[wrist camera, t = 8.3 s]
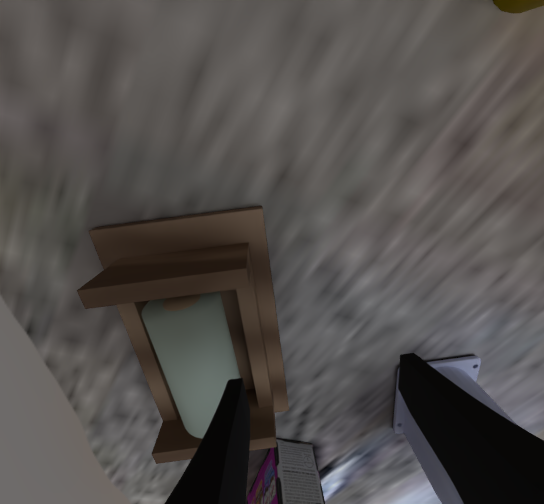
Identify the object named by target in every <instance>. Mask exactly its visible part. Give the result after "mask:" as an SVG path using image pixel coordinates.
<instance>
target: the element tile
mask: <svg viewBox="0 0 544 504" xmlns="http://www.w3.org/2000/svg"><path fill="white" fill-rule="evenodd" d="M493 2H494V4H495V5H496V6H497V7H498V8H499V9H500V10H501V11H504V12H509V13H522V12H525V11H528V10H531V9H534V8H537V7H540V6H543V5H544V0H493Z"/></svg>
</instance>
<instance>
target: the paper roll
mask: <svg viewBox="0 0 544 504" xmlns="http://www.w3.org/2000/svg"><path fill="white" fill-rule="evenodd" d="M142 318H143V321H144V323H145V326H146V328H147V331H148V334H149V336H150V339H151V341H152V344H153V346H154V349H155V352H156V354H157V357H158V359H159V362H160V365H161V367H162V370H163V372H164V375H165V377H166V380H167V383H168V385H169V388H170V390H171V393H172V396H173V398H174V401H175V403H176V406H177V408H178V411H179V414H180V416H181V419H182V421H183V424H184V426H185V429H186V430H187V431H188V433H189V434H191V435H192V436H194V437H197V438H203V437H204V435H205V433H206V431H207V429H208V427H209V425H210V423H211V420H212V418H213V416H214V414H215V412H216V409H217V407H218V405H219V402H220V400H221V397H222V395H223V392H224V390H225V387H226V384H227V382H228V381H229V380H230V379H237V378H240V374H239V369H238V365H237V361H236V357H235V353H234V349H233V345H232V340H231V336H230V332H229V328H228V324H227V320H226V316H225V311H224V307H223V303H222V299H221V295H220V291H217V292H210V293H202V294H195V295H187V296H180V297H172V298H164V299H157V300H150V301H149V302H148V303H147V304H146V305H145V306H144V308H143V310H142Z"/></svg>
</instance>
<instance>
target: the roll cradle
mask: <svg viewBox="0 0 544 504" xmlns="http://www.w3.org/2000/svg"><path fill="white" fill-rule="evenodd" d="M89 233H90V236H91V238H92V241H93V244H94V246H95V249H96V251H97V254H98V256H99V259H100V261H101V264H102V266H103V269H104V271H102V272H101V273H100V274H98V275H97V276H96V277H94V278H93V279H92V280H90V281H89V282H88V283H86V284H85V285H84V286H82V287H81V288H80V289H78V290H77V292H78V294H79V296H80V298H81V301H82V303H83V305H84V307H85V309H89V308H96V307H104V306H111V305H117V308H118V310H119V313H120V315H121V318H122V320H123V322H124V325H125V327H126V330H127V332H128V335H129V337H130V340H131V342H132V345H133V347H134V350H135V352H136V355H137V357H138V360H139V362H140V365H141V367H142V370H143V372H144V375H145V377H146V380H147V382H148V385H149V387H150V390H151V392H152V395H153V397H154V400H155V402H156V405H157V407H158V410H159V412H160V415H161V417H162V419H163V423H162V426H161V429H160V432H159V435H158V438H157V440H156V443H155V446H154V449H153V452H152V456H153V458H154V460H155V462H156V464H158V463H165V462H173V461H180V460H187V459H192V458H193V456H194V454H195V452H196V450H197V449H198V447H199V445H200V443H201V441H202V439H203V438H197V437H194V436H192V435H191V434H189V433H188V431H187V430H186V429H185V426H184V424H183V421H182V419H181V416H180V414H179V411H178V408H177V406H176V403H175V401H174V398H173V396H172V393H171V390H170V388H169V385H168V383H167V380H166V377H165V375H164V372H163V370H162V367H161V365H160V362H159V359H158V357H157V354H156V352H155V349H154V346H153V344H152V341H151V339H150V336H149V334H148V331H147V328H146V326H145V323H144V321H143V318H142V310H143V308H144V306H145V305H146V304H147V303H148V302H149V301H150V300H157V299H164V298H172V297H180V296H187V295H195V294H202V293H210V292H217V291H220V295H221V299H222V303H223V307H224V311H225V316H226V320H227V324H228V328H229V332H230V336H231V340H232V345H233V349H234V353H235V357H236V361H237V365H238V369H239V374H240V378H243V381H244V386H245V390H246V394H247V399H248V403H249V407H250V448H249V451H252V450H259V449H266V448H273V447H277V443H276V428H275V414H274V413H275V412H282V411H289V406H288V398H287V390H286V383H285V375H284V368H283V360H282V353H281V345H280V337H279V330H278V322H277V315H276V307H275V300H274V292H273V285H272V277H271V270H270V262H269V255H268V247H267V239H266V232H265V224H264V217H263V209H262V206H257V207H250V208H242V209H234V210H226V211H218V212H211V213H203V214H195V215H187V216H180V217H172V218H164V219H156V220H148V221H141V222H133V223H125V224H117V225H110V226H102V227H96V228H94V229H92V230H90V231H89Z"/></svg>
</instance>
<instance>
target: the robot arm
mask: <svg viewBox="0 0 544 504" xmlns="http://www.w3.org/2000/svg"><path fill="white" fill-rule="evenodd" d="M480 364H481V359H480V358H479V357H478V356H469V357H461V358H454V359H447V360H439V361H432V362H425V361H424V360H422V359H421V358H420V357H419V356H417V355H416V354H414V353H410V354H403V355H400V367H399V368H398V373H397V385H396V396H395V408H394V420H393V431H394V433H396V434H402V433H404V434H405V436H406V438H407V440H408V442H409V444H410V446H411V447H412V449H413V451H414V453H415V455H416V457H417V459H418V461H419V463H420V464H421V466H422V468H423V470H424V472H425V474H426V476H427V478H428V480H429V481H430V483H431V485H432V487H433V489H434V491H435V493H436V495H437V496H438V498H439V499H440V501H441V502H442V504H544V441H543V440H542V439H540V438H538V437H536V436H534V435H533V434H531V433H529V432H528V431H526V430H524V429H523V428H521V427H519V426H518V425H517V424H516V423H515V422H514V421H513V420H512V419H511V418H510V417H509V416H508V415H507V414H506V413H505V412H504V411H503V410H502V409H501V408H500V407H499V406H498V405H497V404H496V403H495V402H494V401H493V399H492V398H491V397H490V396H489V395H488V394H487V393H486V392H485V391H484V390H483V389H482V388H481V387H480V386H479V385H478V384H477V383H476V380H477V376H478V372H479V368H480ZM249 448H250V407H249V403H248V399H247V394H246V390H245V386H244V381H243V378H237V379H230V380H229V381H228V382H227V384H226V387H225V390H224V392H223V395H222V397H221V400H220V402H219V405H218V407H217V409H216V412H215V414H214V416H213V418H212V420H211V423H210V425H209V427H208V429H207V431H206V433H205V435H204V437H203V439H202V441H201V443H200V445H199V447H198V449H197V450H196V452H195V454H194V456H193V458H192V460H191V461H190V463H189V465H188V467H187V468H186V470H185V472H184V474H183V475H182V477H181V479H180V480H179V482H178V484H177V485H176V487H175V488H174V490H173V491H172V493H171V495H170V496H169V498H168V499H167V501H166V502H165V504H245V499H246V486H247V473H248V461H249Z"/></svg>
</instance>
